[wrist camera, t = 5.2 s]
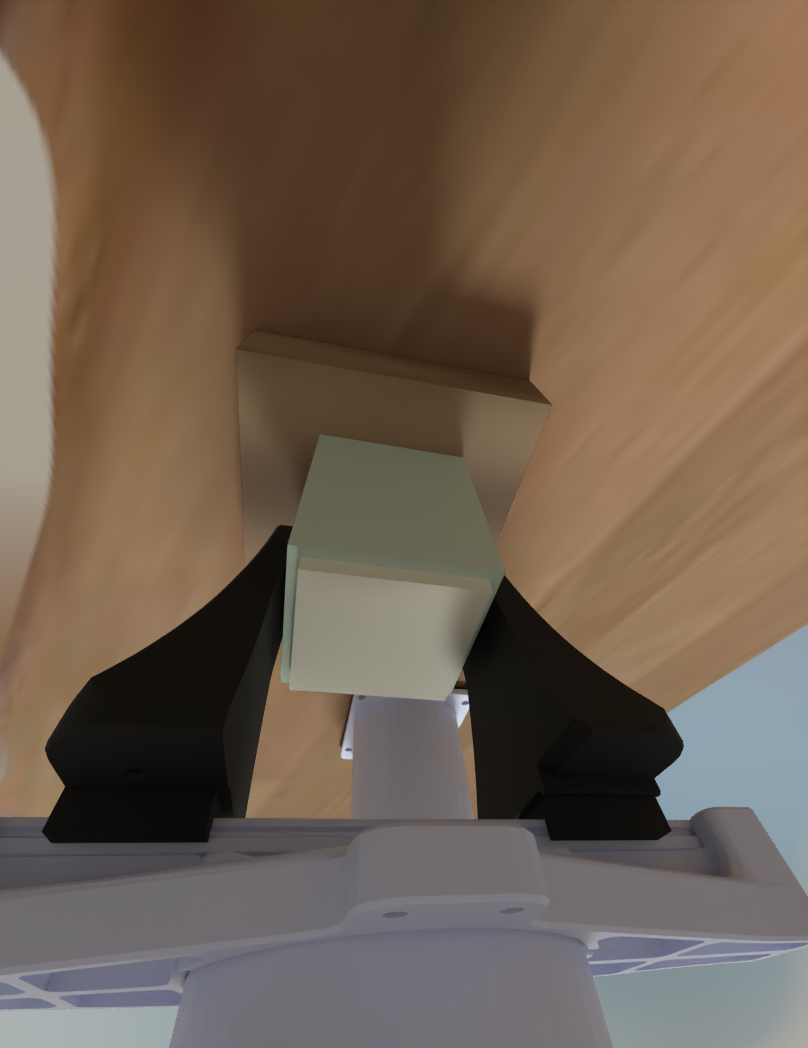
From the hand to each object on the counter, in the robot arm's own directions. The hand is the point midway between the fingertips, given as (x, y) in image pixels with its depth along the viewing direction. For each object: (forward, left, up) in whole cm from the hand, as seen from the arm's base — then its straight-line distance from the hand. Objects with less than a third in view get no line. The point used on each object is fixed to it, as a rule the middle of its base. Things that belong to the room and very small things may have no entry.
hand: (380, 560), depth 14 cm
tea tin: (0, 0, -3) cm, 3 cm away
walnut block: (0, 0, -6) cm, 6 cm away
